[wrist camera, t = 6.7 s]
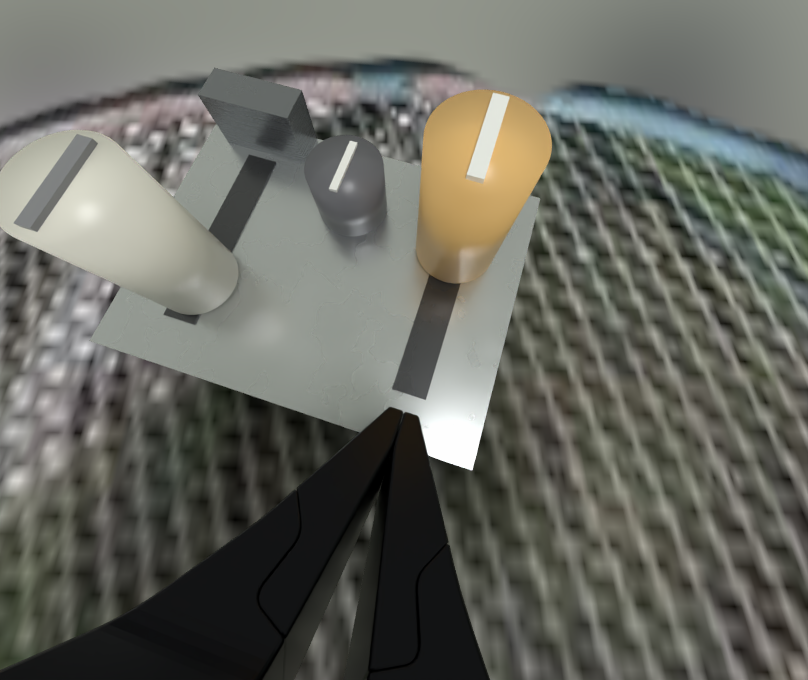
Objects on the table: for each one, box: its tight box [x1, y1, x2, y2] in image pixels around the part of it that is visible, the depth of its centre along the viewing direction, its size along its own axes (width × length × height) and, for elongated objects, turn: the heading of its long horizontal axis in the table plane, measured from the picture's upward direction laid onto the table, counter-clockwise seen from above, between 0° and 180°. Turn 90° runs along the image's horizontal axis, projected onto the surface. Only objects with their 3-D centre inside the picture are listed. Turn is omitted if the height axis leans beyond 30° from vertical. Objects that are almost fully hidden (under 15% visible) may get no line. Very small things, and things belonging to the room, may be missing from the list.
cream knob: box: [0, 130, 238, 315], centre depth 13 cm, size 4×4×7 cm
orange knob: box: [416, 90, 552, 284], centre depth 14 cm, size 4×4×7 cm
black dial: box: [304, 135, 387, 236], centre depth 17 cm, size 4×4×3 cm
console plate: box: [90, 68, 540, 470], centre depth 17 cm, size 16×21×4 cm
